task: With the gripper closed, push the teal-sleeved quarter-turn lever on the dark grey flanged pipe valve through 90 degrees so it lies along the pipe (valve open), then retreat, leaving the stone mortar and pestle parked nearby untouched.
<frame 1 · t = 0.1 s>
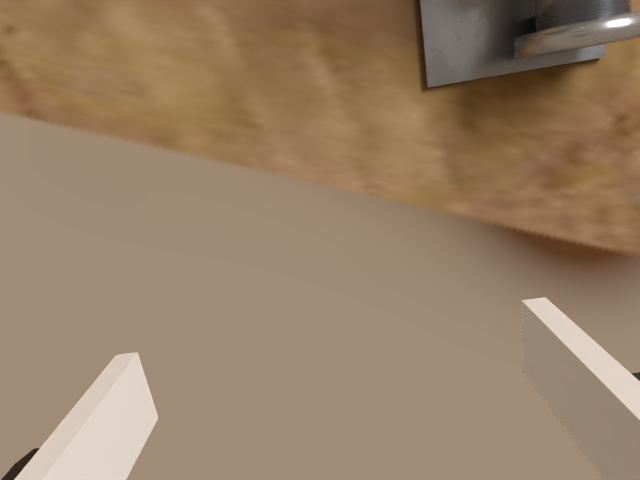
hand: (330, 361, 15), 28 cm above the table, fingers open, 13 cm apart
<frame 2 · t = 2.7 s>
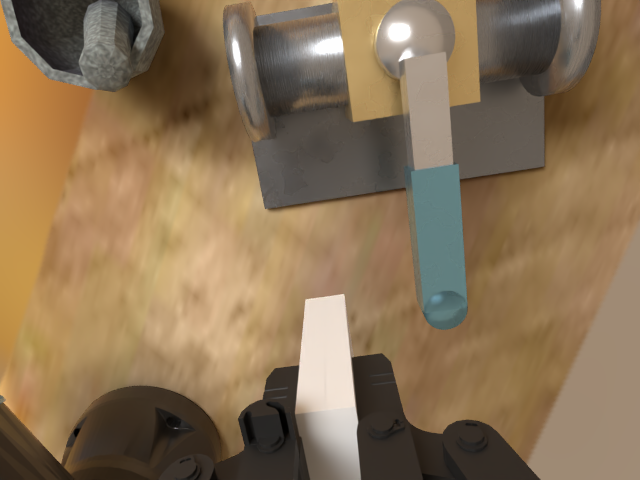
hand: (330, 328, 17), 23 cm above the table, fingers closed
valve body: (388, 58, 35), on the table
mortar and pestle: (130, 33, 35), on the table
lever: (428, 173, 27), point 11 cm above the table, hinge at 0.0°
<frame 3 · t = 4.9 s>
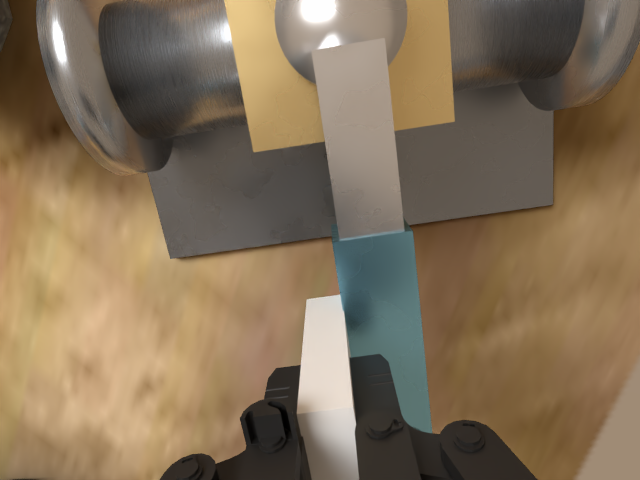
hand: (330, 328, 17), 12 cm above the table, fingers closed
valve body: (333, 53, 25), on the table
lever: (369, 237, 17), point 11 cm above the table, hinge at 0.3°, touching gripper
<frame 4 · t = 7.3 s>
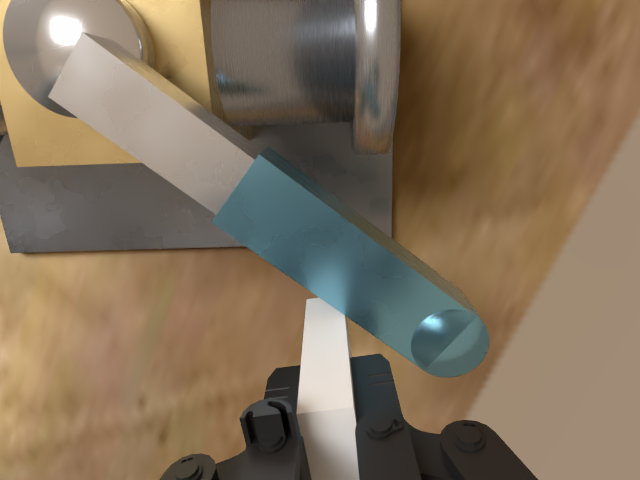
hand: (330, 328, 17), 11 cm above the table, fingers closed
valve body: (178, 68, 25), on the table
lever: (258, 188, 16), point 11 cm above the table, hinge at 50.8°, touching gripper
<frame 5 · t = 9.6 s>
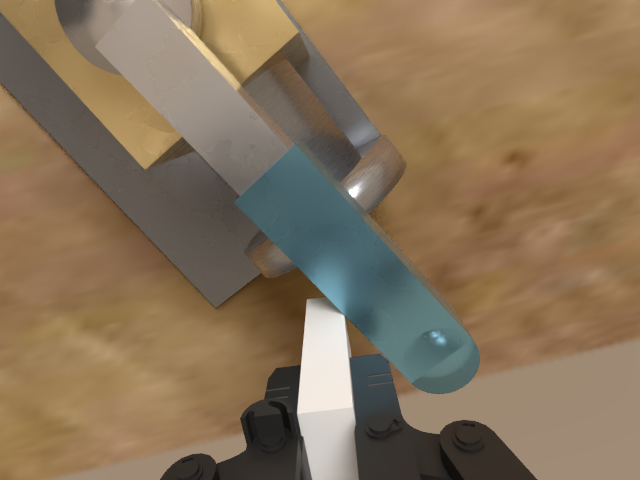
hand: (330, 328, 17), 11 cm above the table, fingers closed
valve body: (209, 44, 25), on the table
lever: (282, 178, 16), point 11 cm above the table, hinge at 93.5°, touching gripper
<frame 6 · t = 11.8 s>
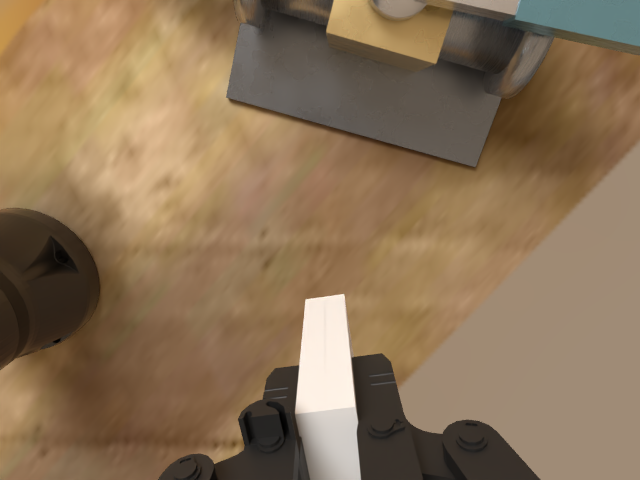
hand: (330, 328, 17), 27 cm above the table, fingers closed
valve body: (385, 12, 38), on the table
lever: (520, 3, 28), point 11 cm above the table, hinge at 93.6°
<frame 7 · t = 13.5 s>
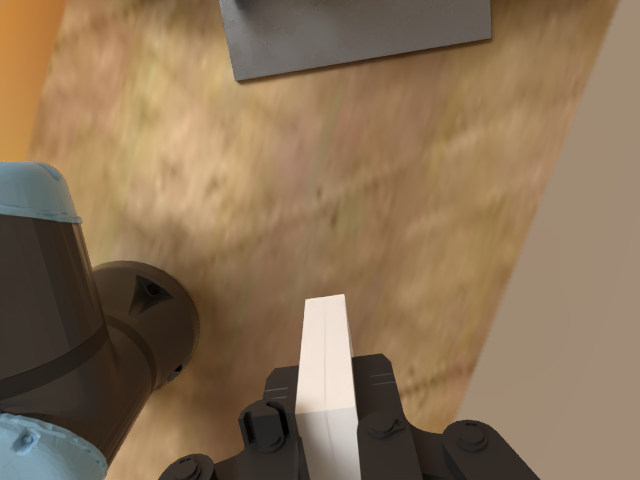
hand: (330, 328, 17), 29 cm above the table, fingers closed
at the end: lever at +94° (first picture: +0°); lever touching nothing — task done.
